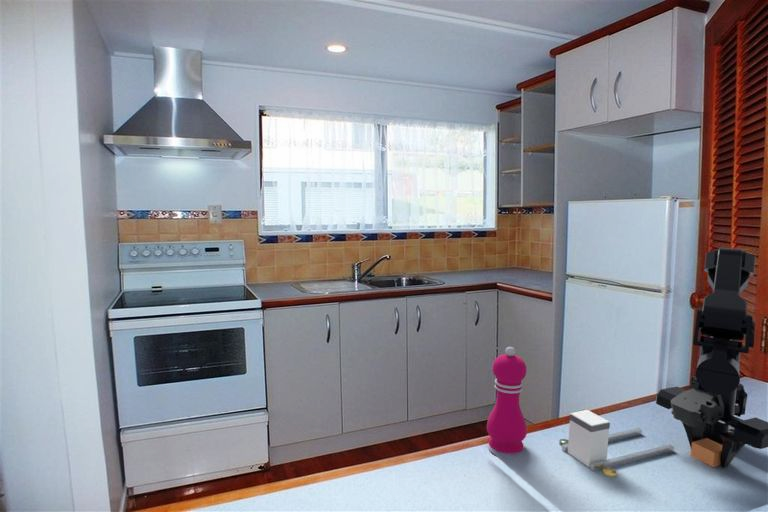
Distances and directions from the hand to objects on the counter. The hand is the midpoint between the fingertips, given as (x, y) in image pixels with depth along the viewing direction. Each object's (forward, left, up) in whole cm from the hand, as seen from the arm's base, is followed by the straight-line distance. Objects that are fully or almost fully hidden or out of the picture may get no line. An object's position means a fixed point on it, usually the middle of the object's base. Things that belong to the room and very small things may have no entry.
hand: (709, 460), depth 87 cm
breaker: (+20, -8, 0) cm, 22 cm away
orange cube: (0, 0, -1) cm, 1 cm away
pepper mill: (+31, -17, -1) cm, 35 cm away
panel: (+13, -8, -1) cm, 15 cm away
